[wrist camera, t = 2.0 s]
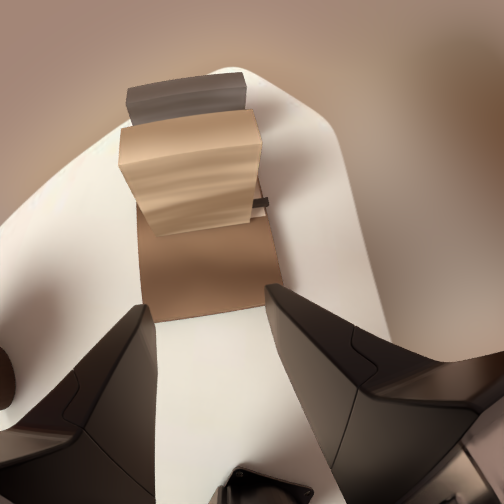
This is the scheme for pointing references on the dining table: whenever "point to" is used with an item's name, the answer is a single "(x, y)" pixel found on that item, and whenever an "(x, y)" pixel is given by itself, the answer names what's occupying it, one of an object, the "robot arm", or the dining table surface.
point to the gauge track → (207, 240)
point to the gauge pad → (193, 170)
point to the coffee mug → (6, 380)
